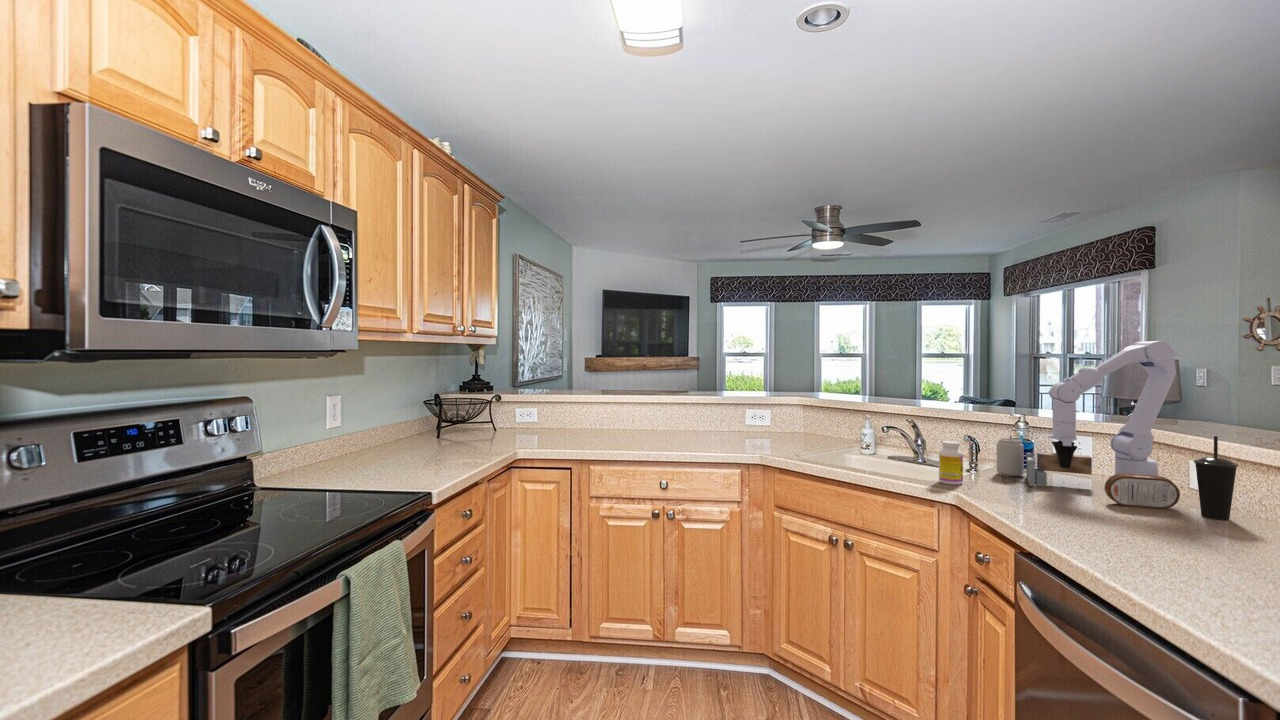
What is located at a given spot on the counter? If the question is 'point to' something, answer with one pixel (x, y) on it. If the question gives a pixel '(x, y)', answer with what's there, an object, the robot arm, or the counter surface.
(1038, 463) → the rail
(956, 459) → the supplement bottle
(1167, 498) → the tin
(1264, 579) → the counter surface
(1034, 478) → the grey blocky bracket
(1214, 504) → the drinking cup
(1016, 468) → the can
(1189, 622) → the counter surface
